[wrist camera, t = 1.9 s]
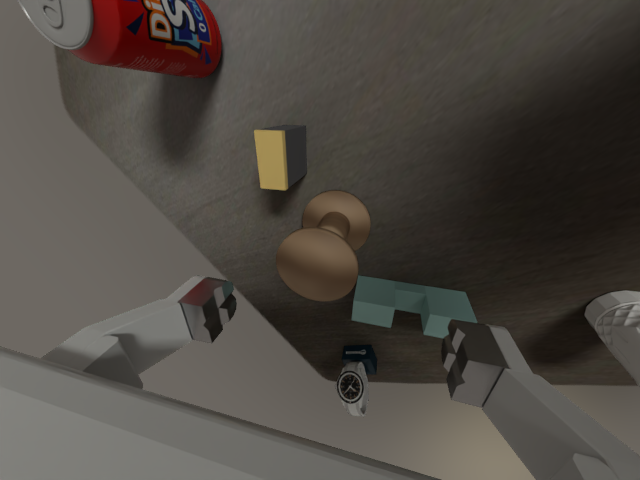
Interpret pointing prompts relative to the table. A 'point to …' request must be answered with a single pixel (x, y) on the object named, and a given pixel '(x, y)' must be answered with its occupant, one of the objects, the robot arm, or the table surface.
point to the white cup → (619, 327)
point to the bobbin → (325, 247)
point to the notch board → (409, 304)
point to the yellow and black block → (281, 155)
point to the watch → (356, 378)
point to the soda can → (133, 33)
